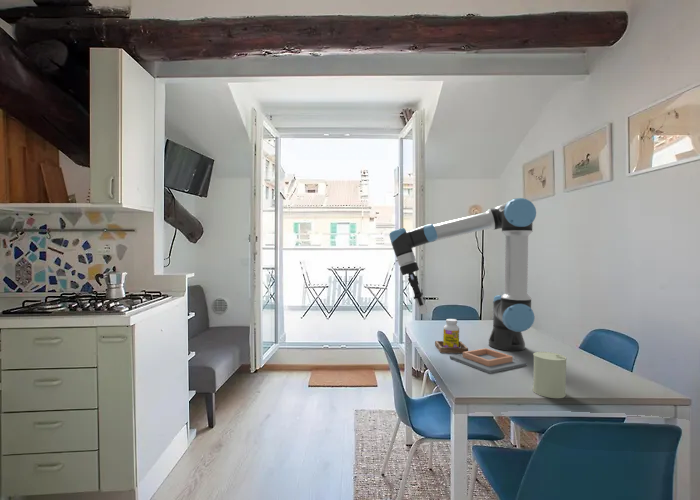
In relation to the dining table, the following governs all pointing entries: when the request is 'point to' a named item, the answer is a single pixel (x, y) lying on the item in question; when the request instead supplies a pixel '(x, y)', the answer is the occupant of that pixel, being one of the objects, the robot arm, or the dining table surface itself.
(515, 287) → the robot arm
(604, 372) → the dining table surface
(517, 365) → the mat
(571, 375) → the dining table surface
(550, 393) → the can
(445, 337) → the supplement bottle
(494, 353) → the collar
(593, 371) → the dining table surface
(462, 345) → the collar
